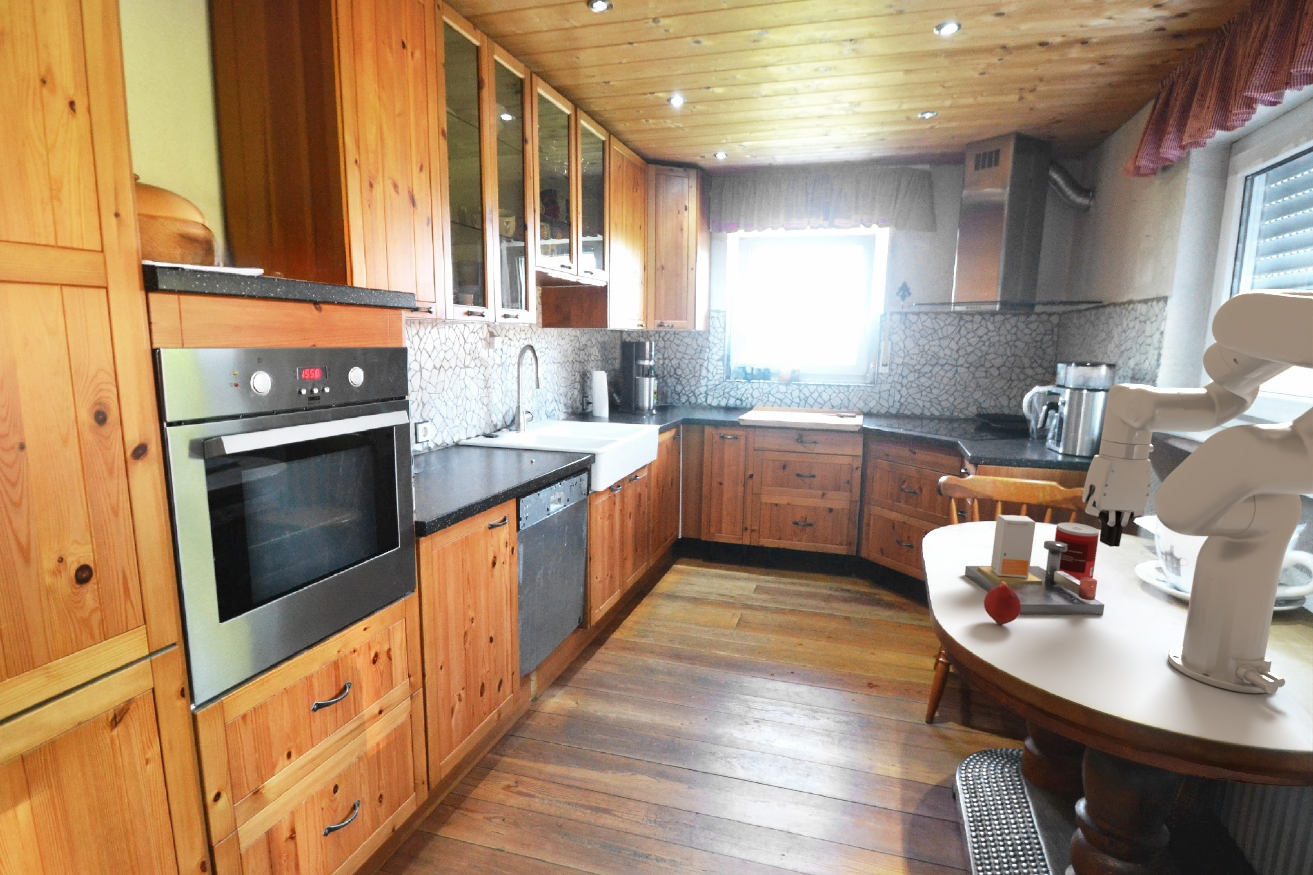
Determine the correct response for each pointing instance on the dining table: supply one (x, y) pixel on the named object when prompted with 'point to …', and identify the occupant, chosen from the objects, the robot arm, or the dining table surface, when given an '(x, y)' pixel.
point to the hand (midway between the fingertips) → (1109, 543)
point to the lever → (1077, 585)
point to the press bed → (1039, 587)
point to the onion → (1002, 604)
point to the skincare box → (1012, 545)
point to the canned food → (1077, 549)
